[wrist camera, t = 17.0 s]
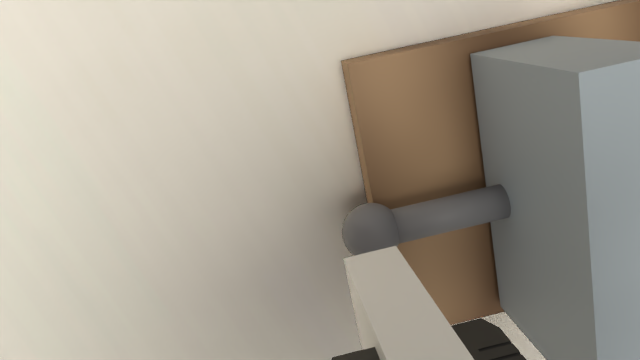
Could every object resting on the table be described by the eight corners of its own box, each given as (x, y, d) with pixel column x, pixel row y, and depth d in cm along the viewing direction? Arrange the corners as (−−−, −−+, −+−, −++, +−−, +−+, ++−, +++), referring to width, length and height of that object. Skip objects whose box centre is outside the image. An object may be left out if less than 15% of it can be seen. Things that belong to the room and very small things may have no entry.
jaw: (361, 341, 22) (406, 473, 16) (309, 89, 20) (339, 126, 13) (586, 285, 23) (719, 391, 16) (569, 32, 20) (723, 40, 14)
